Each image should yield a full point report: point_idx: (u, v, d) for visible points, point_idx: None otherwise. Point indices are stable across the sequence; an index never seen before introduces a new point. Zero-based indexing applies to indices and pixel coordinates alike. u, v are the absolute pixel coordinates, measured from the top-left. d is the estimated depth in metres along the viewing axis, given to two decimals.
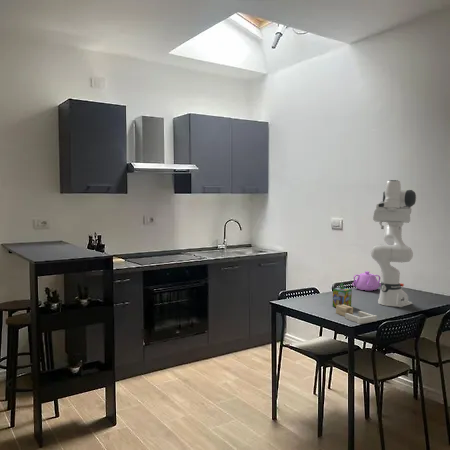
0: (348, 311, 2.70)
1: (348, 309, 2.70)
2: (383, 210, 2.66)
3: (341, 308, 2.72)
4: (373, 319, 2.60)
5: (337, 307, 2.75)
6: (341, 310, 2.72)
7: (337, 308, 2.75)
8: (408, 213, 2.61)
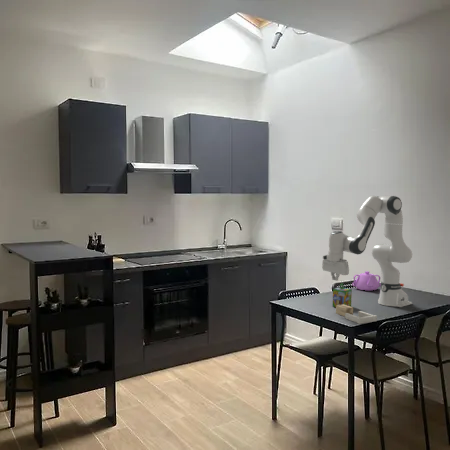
0: (348, 311, 2.70)
1: (348, 309, 2.70)
2: (328, 262, 2.83)
3: (341, 308, 2.72)
4: (373, 319, 2.60)
5: (337, 307, 2.75)
6: (341, 310, 2.72)
7: (337, 308, 2.75)
8: (343, 267, 2.72)
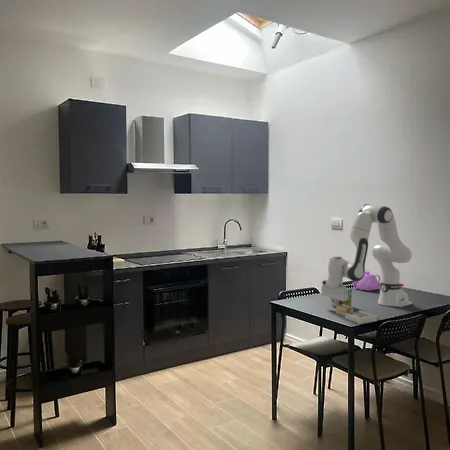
0: (348, 311, 2.70)
1: (348, 309, 2.70)
2: (327, 287, 2.84)
3: (341, 308, 2.72)
4: (373, 319, 2.60)
5: (337, 307, 2.75)
6: (341, 310, 2.72)
7: (337, 308, 2.75)
8: (342, 293, 2.72)
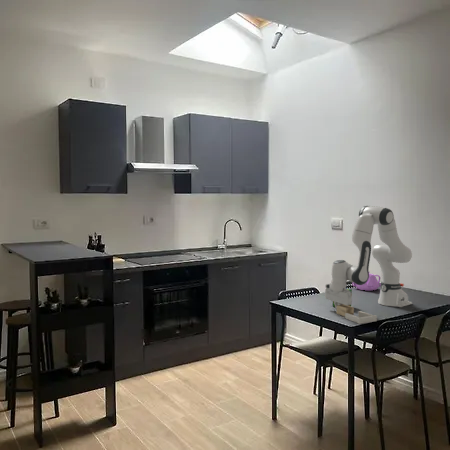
0: (349, 311, 2.70)
1: (349, 309, 2.70)
2: (330, 291, 2.81)
3: (342, 308, 2.71)
4: (373, 319, 2.60)
5: (338, 307, 2.74)
6: (342, 310, 2.71)
7: (338, 308, 2.75)
8: (346, 297, 2.70)
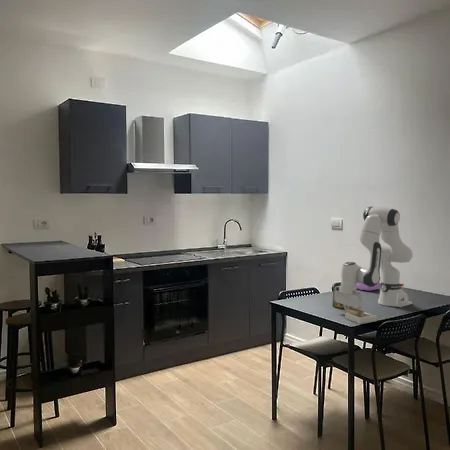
0: (359, 314, 2.62)
1: (359, 312, 2.62)
2: (340, 293, 2.74)
3: (352, 311, 2.64)
4: (373, 319, 2.60)
5: (347, 310, 2.67)
6: (352, 313, 2.64)
7: (347, 311, 2.67)
8: (356, 300, 2.62)
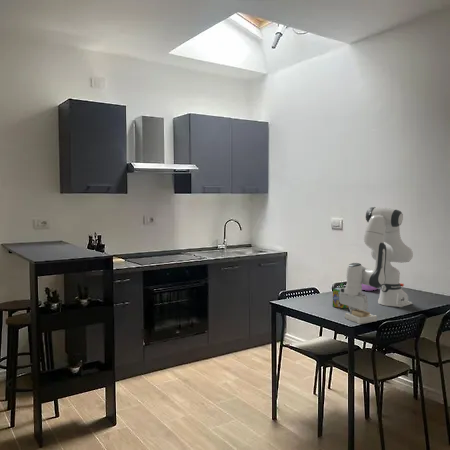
0: (365, 316, 2.58)
1: (365, 314, 2.58)
2: (345, 295, 2.70)
3: (357, 313, 2.60)
4: (373, 319, 2.60)
5: (353, 312, 2.63)
6: (357, 315, 2.60)
7: (353, 313, 2.63)
8: (362, 302, 2.58)
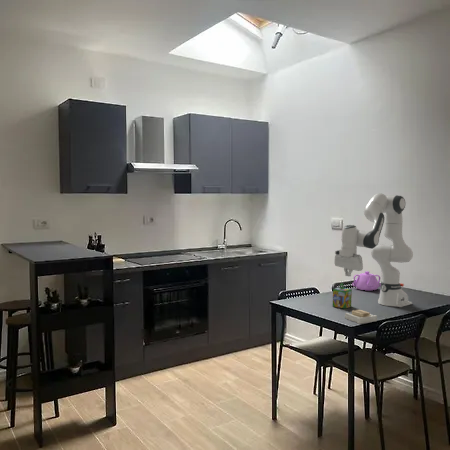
0: None
1: (365, 315, 2.58)
2: (340, 257, 2.73)
3: (357, 313, 2.60)
4: (373, 319, 2.60)
5: (353, 312, 2.63)
6: None
7: (353, 313, 2.63)
8: (357, 262, 2.62)
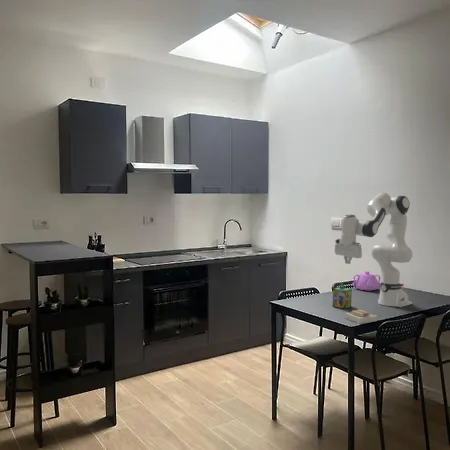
0: None
1: (365, 315, 2.58)
2: (340, 245, 2.85)
3: (357, 313, 2.60)
4: (373, 319, 2.60)
5: (353, 312, 2.63)
6: None
7: (353, 313, 2.63)
8: (356, 250, 2.73)
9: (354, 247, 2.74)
